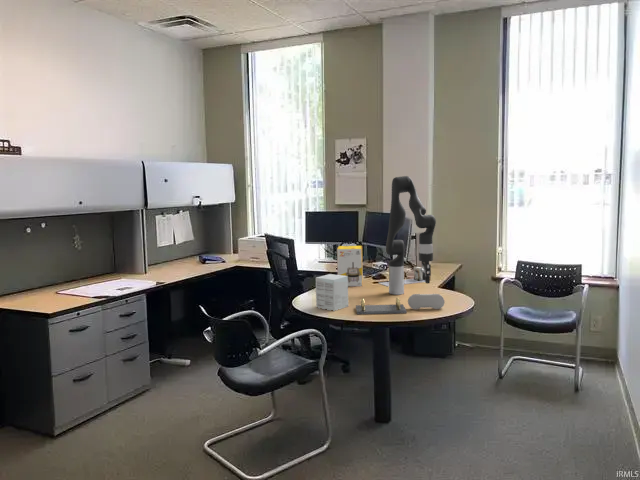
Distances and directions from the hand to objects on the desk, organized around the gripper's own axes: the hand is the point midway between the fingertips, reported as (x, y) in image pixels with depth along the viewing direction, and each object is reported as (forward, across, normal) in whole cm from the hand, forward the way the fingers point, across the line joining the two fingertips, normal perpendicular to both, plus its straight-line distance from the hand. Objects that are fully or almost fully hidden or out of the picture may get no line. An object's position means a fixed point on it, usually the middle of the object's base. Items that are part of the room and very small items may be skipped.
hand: (426, 281), depth 288 cm
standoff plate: (+15, +2, -25) cm, 29 cm away
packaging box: (+15, -73, -38) cm, 84 cm away
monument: (+15, -74, -2) cm, 75 cm away
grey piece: (+15, 0, 0) cm, 15 cm away
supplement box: (+15, -8, -51) cm, 54 cm away
